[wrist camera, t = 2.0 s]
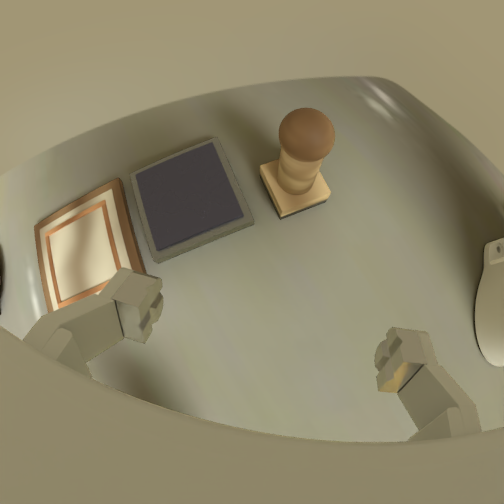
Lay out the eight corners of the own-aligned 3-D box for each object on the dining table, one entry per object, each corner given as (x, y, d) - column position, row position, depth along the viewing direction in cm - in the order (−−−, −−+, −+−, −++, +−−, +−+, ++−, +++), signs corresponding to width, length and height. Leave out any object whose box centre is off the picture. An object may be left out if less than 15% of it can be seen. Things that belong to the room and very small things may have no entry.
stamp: (303, 161, 29) (324, 85, 18) (325, 202, 28) (361, 138, 17) (260, 176, 29) (260, 101, 17) (280, 219, 28) (293, 159, 16)
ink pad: (218, 143, 30) (216, 134, 28) (254, 224, 28) (253, 218, 26) (134, 179, 29) (128, 172, 27) (158, 263, 27) (152, 260, 25)
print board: (121, 181, 29) (116, 176, 28) (152, 293, 26) (148, 292, 25) (38, 228, 28) (32, 225, 27) (58, 331, 26) (51, 331, 24)
